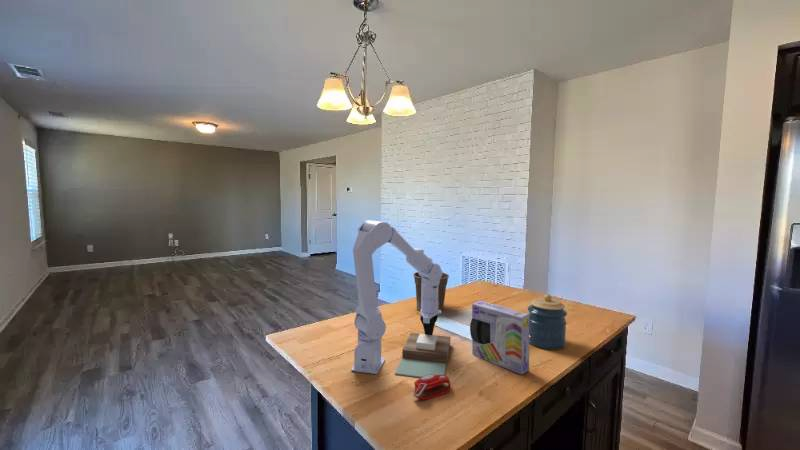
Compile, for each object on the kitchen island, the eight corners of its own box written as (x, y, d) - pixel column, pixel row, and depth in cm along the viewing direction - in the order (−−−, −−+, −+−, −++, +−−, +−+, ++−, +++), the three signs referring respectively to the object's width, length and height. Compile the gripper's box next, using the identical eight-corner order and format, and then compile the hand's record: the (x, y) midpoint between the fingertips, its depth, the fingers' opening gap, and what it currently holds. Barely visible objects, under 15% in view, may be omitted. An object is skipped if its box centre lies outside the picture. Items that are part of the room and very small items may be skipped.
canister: (554, 354, 115) (556, 302, 114) (519, 341, 125) (521, 293, 124) (572, 343, 124) (574, 295, 122) (537, 332, 134) (539, 287, 132)
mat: (443, 380, 98) (443, 379, 98) (394, 374, 101) (394, 373, 101) (446, 364, 107) (446, 363, 107) (401, 359, 110) (401, 358, 110)
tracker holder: (412, 374, 99) (447, 368, 98) (416, 391, 98) (450, 384, 98) (410, 388, 87) (449, 380, 87) (414, 407, 86) (453, 399, 86)
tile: (434, 350, 110) (434, 344, 110) (416, 348, 111) (416, 342, 111) (437, 341, 117) (437, 335, 117) (419, 339, 118) (419, 333, 118)
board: (446, 364, 107) (446, 354, 107) (402, 358, 110) (402, 349, 110) (450, 345, 121) (450, 336, 121) (410, 341, 124) (410, 332, 124)
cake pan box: (468, 353, 115) (469, 301, 114) (477, 349, 118) (479, 298, 117) (520, 377, 100) (523, 317, 99) (529, 371, 104) (532, 314, 102)
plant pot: (430, 301, 171) (431, 269, 170) (455, 310, 159) (456, 275, 157) (405, 308, 161) (406, 273, 159) (430, 317, 148) (431, 280, 147)
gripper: (439, 305, 109) (438, 346, 110) (443, 292, 123) (442, 329, 125) (417, 303, 111) (416, 344, 112) (423, 291, 125) (423, 327, 126)
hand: (428, 336), depth 118 cm, fingers closed
